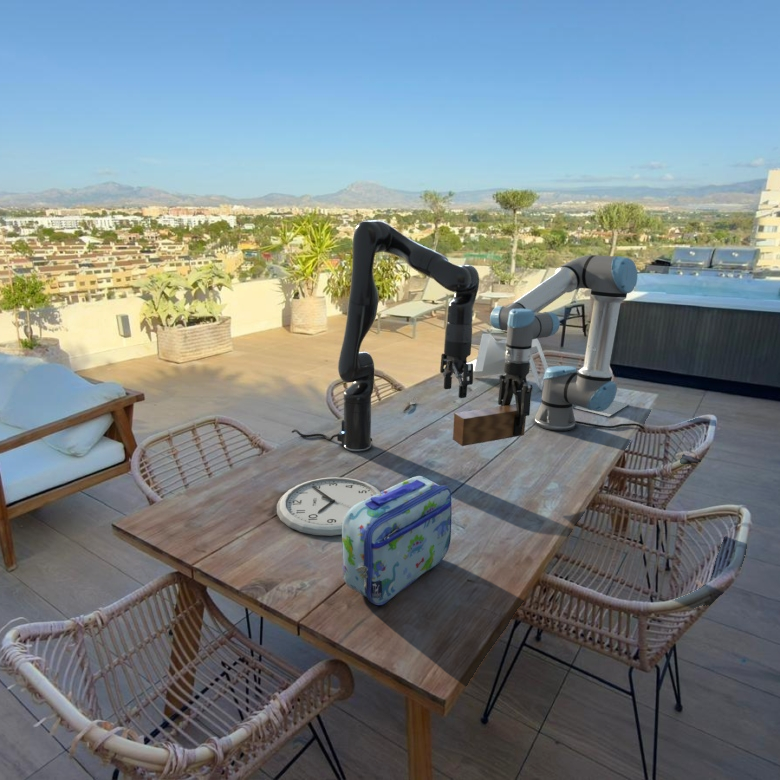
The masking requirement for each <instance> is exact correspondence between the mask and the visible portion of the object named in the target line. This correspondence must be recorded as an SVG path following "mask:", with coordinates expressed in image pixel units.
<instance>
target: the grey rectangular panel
mask: <svg viewBox="0 0 780 780" xmlns="http://www.w3.org/2000/svg"><path fill="white" fill-rule="evenodd" d="M628 406H629V404H627V403H623V402H618V401H614V400H613V402H612V403H611V405H610V406H609V407H608V408H607V409H606V410H604V411H601V412H598V411H594V410H589V409H587V408H583V407H580V406H577V405H575V406H574V407H573V409H575V410H581V411H584V412H587V413H593V414H596V415H600V416H604V417H608V418H609V417H611V416H613V415H614V414H616V413H617V412H619V411H621V410H623V409H624V408H626V407H628Z"/></svg>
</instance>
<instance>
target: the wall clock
mask: <svg viewBox="0 0 780 780" xmlns="http://www.w3.org/2000/svg"><path fill="white" fill-rule="evenodd" d="M380 492H382V491H381V490H380V489H379V488H377V487H376V486H374V485H372V484H371V483H369V482H365V481H362V480H359V479H355V478H349V477H338V476H337V477H335V476H333V477H332V476H331V477H322V478H317V479H312V480H307V481H305V482H302V483H299V484H297V485H295V486H293V487H292V488H290V489H288V490H287V491H286V492H285V493H284V494H283V495H281V496H280V498H279V499H278V502H277V503H276V515H277V517H278V518H279V520H280V521H281V522H282V523H283V524H285V525H286V526H287V527H288V528H290V529H293V530H295V531H297V532H299V533H303V534H308V535H312V536H327V537H328V536H329V537H331V536H332V537H333V536H342V525H343V521H344V518H345V516H346V514H347V512H348V511H349V510H350V509H351V508H352V507H353V506H354V505H356V504H358V503H360V502H362V501H364V500H366V499H368V498H370V497H372V496H374V495H376V494H378V493H380Z"/></svg>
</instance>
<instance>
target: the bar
mask: <svg viewBox="0 0 780 780" xmlns="http://www.w3.org/2000/svg"><path fill="white" fill-rule="evenodd" d="M515 415H517V412H516V403H511V404H510V405H505V406H501V405H499V406H493V407H486V408H485V407H484V408H478V409H471V410H465V411H458V412H454V413H453V429H452V441H454V442H456V443H457V444H459V445H460V446H461V447H466V446H470V445H471V446H472V445H476V444H477V445H478V444H482V443H487V442H494V441H499V440H505V439H511V438H516V437H523V436H525V430H526V429H525V428H526V419H527V416H524V423H523V426H522V435H517V436H514V435H513V430H514V419H515Z"/></svg>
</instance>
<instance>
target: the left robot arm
mask: <svg viewBox="0 0 780 780" xmlns="http://www.w3.org/2000/svg"><path fill="white" fill-rule="evenodd" d="M380 253H387V254H391V255H394V256H396V257H398V258H400V259H402V260H403V261H404V262H405V263H406V264H407V265H408V266H409V267H410V268H411V269H413V270H414V271H416V272H418V273H420V274H421V275H423V276H425V277H428V278H430V279H432V280H434V281H435V282H436V283H437V284H439V285H440V287H442V288H444V289H446V290H447V291H449V292H452V293H454V295H453V298H452V299H451V301H450V302H448V305H447V310H446V325H445V331H444V346H443V353H441V355H440V357H441V358H440V368H439V372H440V374H442V377H443V389H444V390H452V383H453V374H454V375H455V379H457V380H458V384H459V385H458V395H457V396H458V398H460V399H465V398H467V394H468V386H470V385H473V382H474V377H473V364H472V363H471V364H468V363H469V362H468V357H470V356H471V354H472V343H473V342H472V341H473V340H472V339H473V314H474V306H475V302H476V300H477V295H478V291H479V286H480V275H479V272H478V270H477V268H476V267H474V266H473V265H470V264H465V265H457V264H454V263H453V262H450V261H449V259H448V257H446V256H445V255H443V254H442V253H439V252H437V251H435V250H432V249H431V248H428V247H426V246H423V245H422V244H421V243H417V242H416V241H414V240H412V239H410V238H408V237H407V236H405V235H404V234H403V233H401V232H399V230H397V229H396V228H394V227H393V226H391V225H390V224H388V223H387V222H385V221H383V220H363V221H361V222H359V223H358V224H357V225H356V227H355V228H354V232H353V237H352V265H351V268H352V269H351V276H350V277H351V279H350V289H349V294H348V295H349V296H348V302H347V310H346V312H347V313H346V320H345V321H346V322H345V327H344V335H343V340H342V345H341V349H340V353H339V358H338V364H337V371H338V375H339V378H340V379H341V381H343V382H344V383H347V384H349V383H351V385H350V386H349V387H348V388H346V389H345V390H344V392H343V419H342V420H341V421H340V422H341V423H340V424H341V431H339V432H338V433H336V434H333V435H332V436H331V437H328V436H327V435H325V434H323V433H312V434H303V433H301V432H300V431H299V430H298V429H293V430H292V431H291V433H296V434H298V435H299V436H300V437H303V438H311V437H323V438H324V439H325V440H327V441H332V440H334V438H337V439H336V440H337V442H341V447H342V448H344V449H345V450H346V451H349V452H356V453H357V452H366V451H368V450H370V449H371V448H372V442H373V438H372V395H373V392H374V385H375V384H374V382H375V362H374V359H373V357H372V355H371V354H370V353H369V352H367V351H360V349H361V346H362V343H363V341H364V339H365V338H366V336H367V334H368V333H369V332H370V330H371V328H372V327H373V325H374V323H375V321H376V319H377V313H378V309H379V308H378V307H379V298H380V297H379V292H378V288H377V285H376V282H375V278H374V263H375V262H374V261H375V256H376V254H380Z"/></svg>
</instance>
